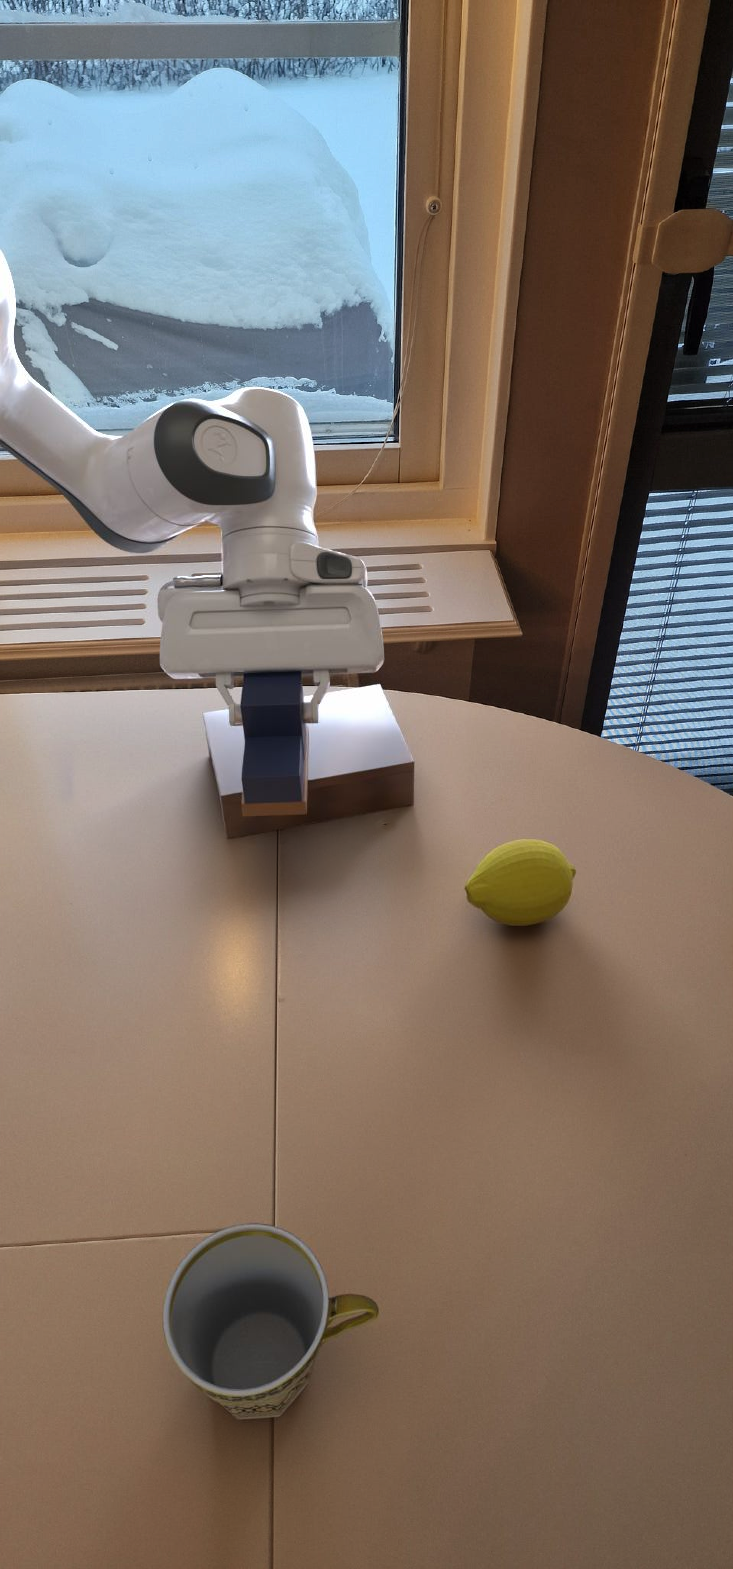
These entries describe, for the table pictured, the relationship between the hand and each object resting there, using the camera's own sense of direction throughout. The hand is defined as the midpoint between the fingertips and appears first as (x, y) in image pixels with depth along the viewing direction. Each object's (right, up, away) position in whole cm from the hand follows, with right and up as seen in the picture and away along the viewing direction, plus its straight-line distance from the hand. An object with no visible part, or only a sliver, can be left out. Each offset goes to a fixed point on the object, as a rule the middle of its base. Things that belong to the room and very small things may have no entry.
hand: (274, 724), depth 93 cm
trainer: (0, -5, +1) cm, 5 cm away
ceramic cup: (+3, -44, -24) cm, 51 cm away
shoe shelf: (+2, -5, +20) cm, 20 cm away
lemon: (+23, -18, +5) cm, 29 cm away
